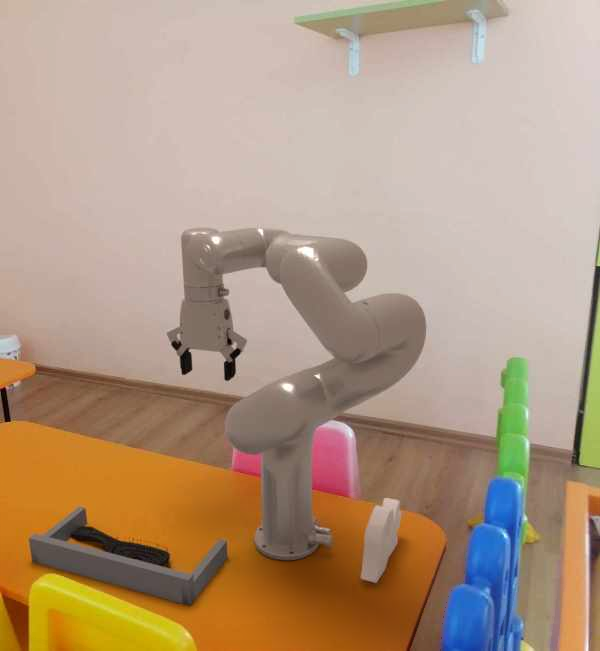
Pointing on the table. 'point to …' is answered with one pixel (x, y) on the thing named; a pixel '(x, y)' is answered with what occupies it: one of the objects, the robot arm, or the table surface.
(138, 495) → the table surface
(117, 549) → the hairbrush
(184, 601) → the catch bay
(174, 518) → the table surface
